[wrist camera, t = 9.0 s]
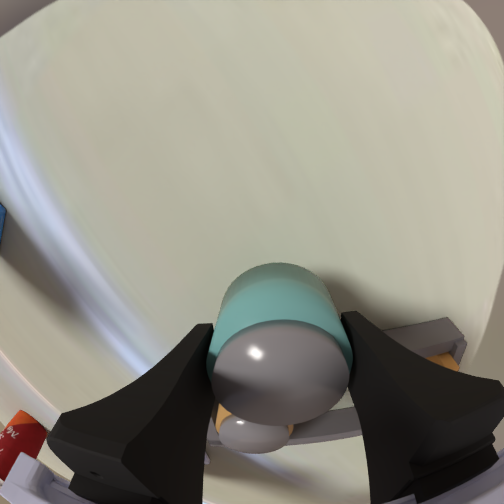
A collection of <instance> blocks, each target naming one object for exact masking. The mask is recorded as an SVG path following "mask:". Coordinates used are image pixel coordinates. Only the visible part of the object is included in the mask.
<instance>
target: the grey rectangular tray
mask: <svg viewBox="0 0 504 504" xmlns="http://www.w3.org/2000/svg"><path fill="white" fill-rule="evenodd" d="M383 332H384V333H385V334H387V335H388V336H389V337H391V338H392V339H394V340H395V341H396V342H398V343H400V344H401V345H403V346H404V347H406V348H407V349H409V350H411V351H412V352H414V353H416V354H418V355H420V356H422V357H424V358H428V357H431V356H435V355H438V354H442V353H445V352H449V353H450V355H451V356H452V358H453V359H454V360H455V362H456V363H457V365H458V366H459V363H460V361H461V358H462V356H463V353H464V351H465V348H466V346H467V342H466V341H465V340H464V335H463V334H462V333H461V332H460V331H459V329H458V328H457V327H456V326H455V325H454V324H453V323H452V321H451V320H450V319H449V318H448V317H446V318H442V319H438V320H434V321H429V322H425V323H420V324H415V325H410V326H405V327H400V328H395V329H389V330H383ZM218 407H219V402H218V401H217V399H216V398H215V402H214V406H213V410H212V414H211V418H210V423H209V427H208V432H207V439H208V441H209V444H210V446H220V447H227V446H225V445H224V444H223V443H222V442H221V441H220V439H219V433H218V432H217V430H216V419H217V413H218ZM360 435H362V430H361V425H360V421H359V418H358V414H357V411H356V409H355V407H351V408H345V409H339V410H332V411H327V412H325V413H323V414H322V415H320V416H318V417H316V418H314V419H311V420H308V421H305V422H302V423H298V424H293V431H292V433H291V435H290V436H289V440H288V442H287V444H286V445H285V446H287V445H299V444H309V443H317V442H325V441H332V440H338V439H344V438H350V437H355V436H360Z"/></svg>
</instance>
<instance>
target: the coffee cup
mask: <svg viewBox="0 0 504 504" xmlns="http://www.w3.org/2000/svg"><path fill="white" fill-rule="evenodd" d="M46 436H47V432H46V430H45V429H44V428H43V426H42V425H41V424H40V423H39V422H37V421H36V420H35V419H34V418H33V417H32V416H30V415H29V414H27V413H26V412H24V411H22V410H20V411H19V412H18V413H17V414H16V415H15V416H14V417H13V419H12V420H11V421H10V422H9V423H8V425H7V426H6V427H5V429H4V430H3V431H2V432H1V434H0V488H1V487H2V485H3V484H4V482H5V480H6V478H7V476H8V474H9V472H10V470H11V469H12V467H13V465H14V463H15V461H16V460H17V458H18V456H19V455H20V453H21V452H23V453H25V454H27V455H29V456H30V457H32V458H34V459H36V458H37V456H38V454H39V452H40V449H41V447H42V445H43V443H44V441H45V438H46Z"/></svg>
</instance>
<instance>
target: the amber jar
mask: <svg viewBox="0 0 504 504" xmlns="http://www.w3.org/2000/svg"><path fill="white" fill-rule="evenodd" d="M216 430H217V432H218V433H219V439H220V441H221V442H222V443H223V444H224V445H225V446H227V447H228V448H230V449H233V450H235V451H239V452H243V453H251V454H261V453H268V452H272V451H276V450H278V449H280V448H282V447H283V446H285V445H286V444H287V442H288V440H289V436H290V435H291V433H292V431H293V425H284V426H269V425H260V424H256V423H252V422H248V421H245V420H243V419H240V418H238V417H236V416H235V415H233V414H231V413H230V412H228V411H227V410H226V409H225V408H224V407H222V405H221V404H220V403H219V407H218V413H217V419H216Z"/></svg>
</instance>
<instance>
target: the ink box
mask: <svg viewBox="0 0 504 504" xmlns="http://www.w3.org/2000/svg"><path fill="white" fill-rule="evenodd" d="M5 213H6V210H5V208H4V207H3V206H2V205H1V204H0V242H1V236H2V229H3V224H4V218H5Z"/></svg>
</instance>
